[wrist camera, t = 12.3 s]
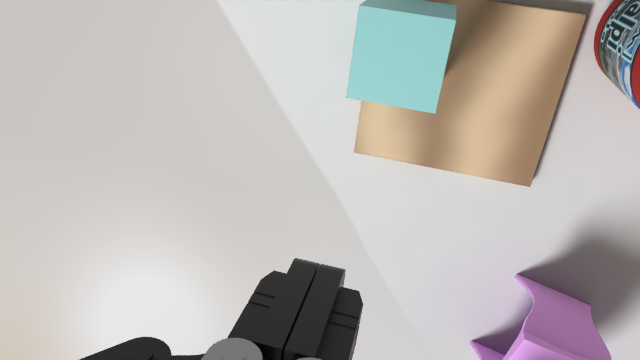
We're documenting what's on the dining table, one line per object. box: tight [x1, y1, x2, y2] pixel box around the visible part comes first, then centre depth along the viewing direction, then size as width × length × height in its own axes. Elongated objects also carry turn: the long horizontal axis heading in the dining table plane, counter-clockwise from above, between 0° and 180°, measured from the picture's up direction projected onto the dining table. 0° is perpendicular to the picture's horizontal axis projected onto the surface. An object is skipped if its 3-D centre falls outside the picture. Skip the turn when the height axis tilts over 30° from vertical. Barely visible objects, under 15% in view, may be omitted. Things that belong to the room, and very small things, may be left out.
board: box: [354, 0, 586, 187], centre depth 36 cm, size 13×12×1 cm
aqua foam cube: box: [346, 0, 457, 114], centre depth 32 cm, size 5×5×7 cm
